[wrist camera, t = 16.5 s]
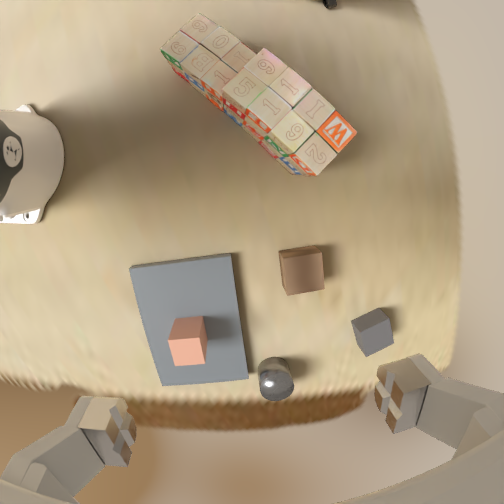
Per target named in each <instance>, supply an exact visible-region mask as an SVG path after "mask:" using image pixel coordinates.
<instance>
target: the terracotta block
mask: <svg viewBox="0 0 504 504" xmlns="http://www.w3.org/2000/svg"><path fill="white" fill-rule="evenodd" d="M207 342H208V339H207V334H206V329H205V324H204V319H203V316H196V317H186V318H176V319H175V320H174V323H173V326H172V329H171V332H170V335H169V338H168V343H169V347H170V350H171V354H172V357H173V361H174V364H175V366H184V365H197V364H205V361H206V351H207Z"/></svg>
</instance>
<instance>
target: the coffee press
mask: <svg viewBox="0 0 504 504" xmlns="http://www.w3.org/2000/svg"><path fill="white" fill-rule="evenodd" d="M323 3H324V6H325V7H326V8H332V7H336V6H337V2H336V0H323Z"/></svg>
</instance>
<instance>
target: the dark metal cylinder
mask: <svg viewBox="0 0 504 504" xmlns="http://www.w3.org/2000/svg"><path fill="white" fill-rule="evenodd" d="M257 371H258V378H259V385H260V392H261V394H262V396H263V397H264V398H266V399H268V400H271V401H279V400H283V399H285V398H287V397H288V396H290V395H291V393H292V392H293V390H294V383H293V380H292V377H291V373H290V370H289V367H288V364H287V362H286V361H285V360H284V359H282V358H278V357H271V358H267V359H265V360H264V361H262V362H261V363H260V364H259V366H258V370H257Z"/></svg>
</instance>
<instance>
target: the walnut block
mask: <svg viewBox="0 0 504 504" xmlns="http://www.w3.org/2000/svg"><path fill="white" fill-rule="evenodd" d="M279 258H280V267H281V276H282V284H283V287H284V289H285V291H286V294H287V296H288V295H294V294H300V293H305V292H311V291H317V290H322V289H324V273H323V259H322V252H321V251H320V250H319V249H318V248H316V247H315V246H307V247H301V248H294V249H288V250H281V251H279Z"/></svg>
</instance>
